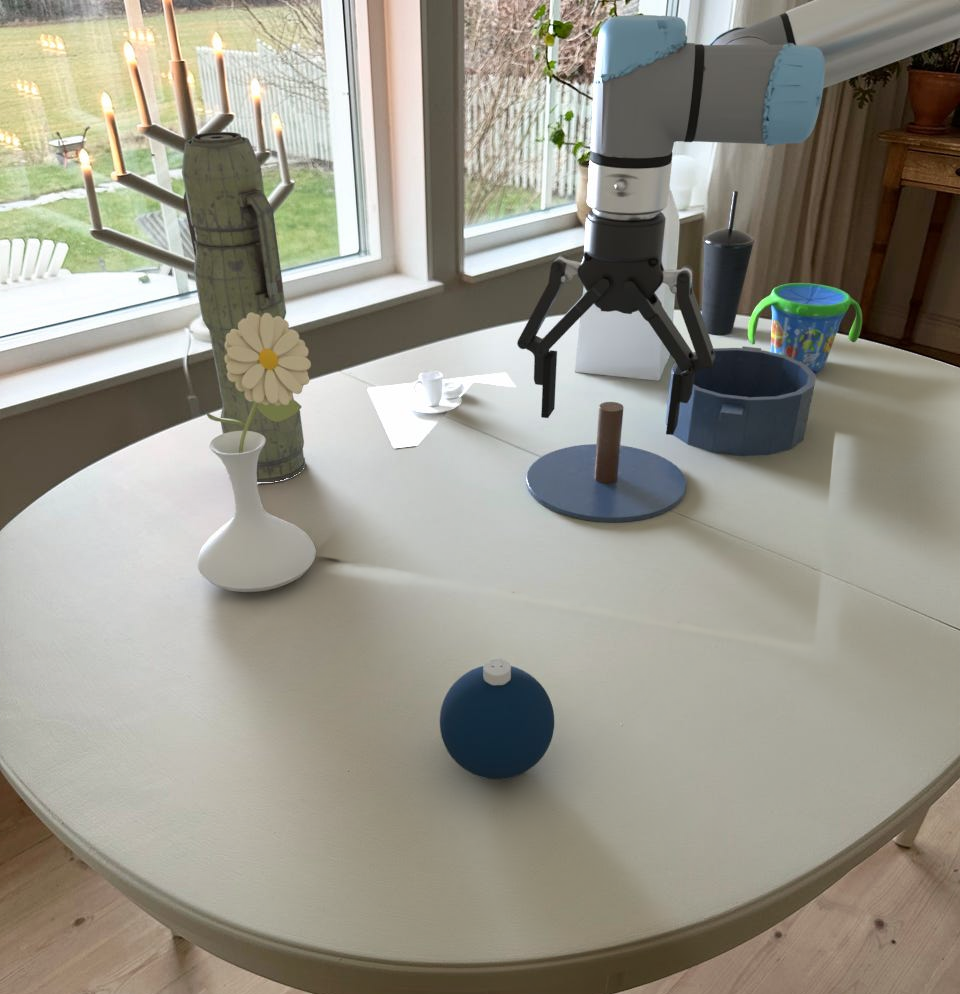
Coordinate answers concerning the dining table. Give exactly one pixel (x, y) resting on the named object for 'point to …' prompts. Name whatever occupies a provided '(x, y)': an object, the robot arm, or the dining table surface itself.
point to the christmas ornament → (497, 721)
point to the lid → (606, 477)
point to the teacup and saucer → (423, 403)
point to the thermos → (237, 276)
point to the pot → (746, 403)
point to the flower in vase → (252, 531)
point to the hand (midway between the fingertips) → (608, 421)
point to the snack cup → (806, 321)
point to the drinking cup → (724, 274)
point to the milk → (630, 325)
